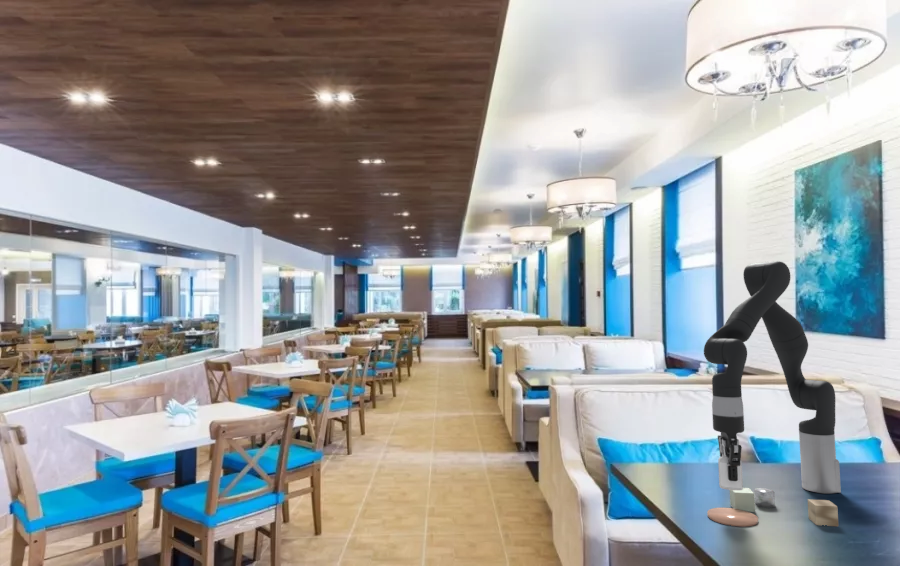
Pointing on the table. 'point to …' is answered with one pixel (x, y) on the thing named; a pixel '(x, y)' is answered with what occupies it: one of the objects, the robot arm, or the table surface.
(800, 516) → the table surface
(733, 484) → the eye dropper bottle
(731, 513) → the salmon disc
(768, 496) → the steel puck
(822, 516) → the oak block
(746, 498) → the sage block
